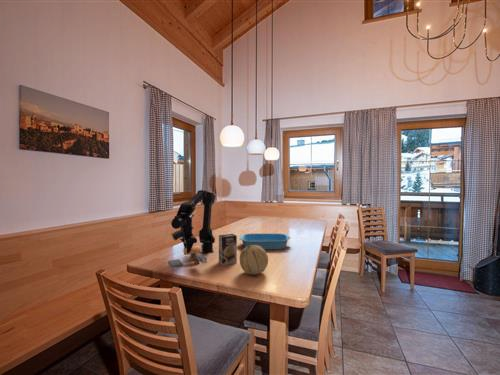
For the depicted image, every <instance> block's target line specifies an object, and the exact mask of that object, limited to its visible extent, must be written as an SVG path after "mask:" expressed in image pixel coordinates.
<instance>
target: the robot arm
mask: <svg viewBox="0 0 500 375" xmlns="http://www.w3.org/2000/svg"><path fill="white" fill-rule="evenodd" d="M215 199H216V194H214V192H210V191H207V190H204V189H203V190H202V189H201V190H200V189H199V190H198V191H197V192H196V193H195V194H194V195H193V196H192V197H191V198H190V199H189V200H187V201H184V202H182V203H181V204H180V205H179V208H178V210H177V213H176V215H174V218H172V220H171V223H170V224H171V227H172V228H173V229H175V230H176V231H174V232H173V233H171V236H172V239H173V240H174V241H177V240H178V239H179V240H180V241H181V242H182V244H183V249H184V248H186V249H187V253H190V251H191V248H192V247H194V244H196V243H198V238H199V242H200V243H201V246H200V248H201V253H204V254H210V253H214V252H215V251H214V249H213V248H214V247H213V246H214V243H215V241H216V239H215V237H214V235H213V230H212V228H211V222H212V221H211V220H212V219H211V218H212V207H213V205H214V203H215ZM200 202H202V204H203V217H202V227H201V229H199V232H198V238H197V237H195V236H194V234H193V229H194V227H193V217H195V215H194V214H193V213H194V212H195V210H196V206H197V205H198V204H199V203H200ZM177 229H179V230H177Z"/></svg>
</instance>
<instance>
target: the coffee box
mask: <svg viewBox="0 0 500 375" xmlns="http://www.w3.org/2000/svg"><path fill="white" fill-rule="evenodd" d="M237 243H238V236H237V235H236V234H235V233H229V234H227V233H225V234H219V235H218V263H219V264H220V265H221V266H227V265H232V264H237V263H238V262H237V260H238V258H237V253H238V249H237V248H238V247H237V246H238V244H237Z"/></svg>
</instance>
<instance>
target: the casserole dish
mask: <svg viewBox="0 0 500 375" xmlns="http://www.w3.org/2000/svg"><path fill="white" fill-rule="evenodd" d="M290 239H291V236H289V235H288V234H284V233H270V232H269V233H262V232H261V233H244V234H243V235H239V240H241V241H242V244H243V245H242V246H244V248H246V247H248V245H249V246H250V245H258V246H261V247H262V248H263V249H264V250H283V249H284V248H285V247H286V246H287V244H288V241H289V240H290Z"/></svg>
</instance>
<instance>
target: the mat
mask: <svg viewBox="0 0 500 375" xmlns="http://www.w3.org/2000/svg"><path fill="white" fill-rule="evenodd" d="M168 263H169V265H170V266H171V268H177V267H181V266H184V263H183V262H182V261H181V259H180V258H177V259H172V260H168Z"/></svg>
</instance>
